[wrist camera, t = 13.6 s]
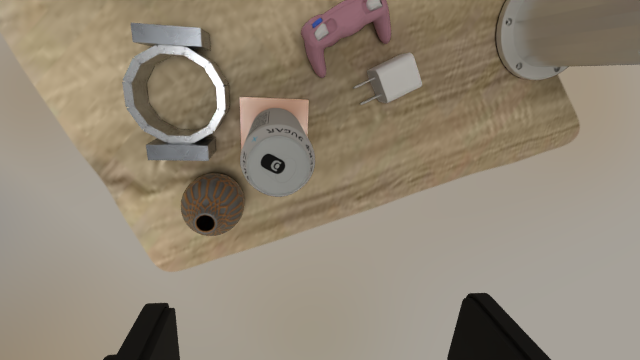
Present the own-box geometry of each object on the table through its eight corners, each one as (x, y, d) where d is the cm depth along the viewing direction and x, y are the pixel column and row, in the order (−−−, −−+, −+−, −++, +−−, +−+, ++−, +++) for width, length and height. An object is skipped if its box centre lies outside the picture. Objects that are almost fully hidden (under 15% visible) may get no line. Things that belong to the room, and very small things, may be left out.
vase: (229, 226, 41) (218, 264, 33) (179, 201, 39) (155, 234, 31) (256, 184, 40) (253, 213, 32) (207, 156, 38) (189, 179, 30)
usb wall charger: (408, 85, 39) (423, 87, 35) (358, 110, 39) (368, 113, 35) (398, 54, 37) (412, 52, 34) (346, 79, 37) (355, 80, 34)
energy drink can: (286, 164, 39) (293, 215, 25) (242, 141, 37) (223, 182, 23) (310, 122, 38) (332, 152, 24) (265, 97, 36) (261, 112, 22)
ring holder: (131, 28, 32) (108, 21, 28) (227, 35, 34) (220, 29, 29) (147, 148, 36) (128, 159, 32) (231, 150, 38) (226, 160, 33)
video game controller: (374, 11, 37) (381, -34, 30) (392, 43, 36) (405, 5, 29) (300, 51, 37) (291, 15, 30) (318, 83, 37) (313, 54, 30)
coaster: (308, 99, 37) (308, 99, 37) (305, 163, 40) (306, 164, 39) (240, 96, 36) (239, 96, 36) (241, 162, 39) (241, 163, 38)
